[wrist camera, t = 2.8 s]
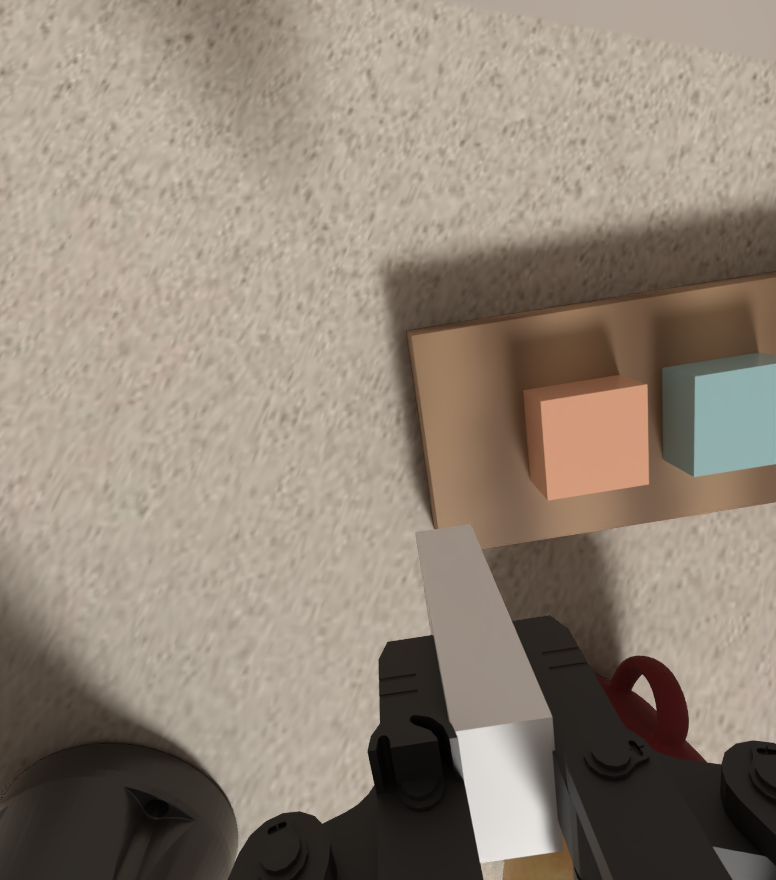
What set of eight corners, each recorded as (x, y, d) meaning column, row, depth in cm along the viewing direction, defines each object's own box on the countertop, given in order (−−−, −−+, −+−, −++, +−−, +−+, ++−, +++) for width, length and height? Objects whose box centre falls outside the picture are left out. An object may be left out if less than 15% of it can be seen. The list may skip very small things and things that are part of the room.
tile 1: (662, 459, 26) (693, 477, 23) (662, 367, 24) (694, 376, 22) (754, 444, 26) (795, 460, 23) (758, 352, 24) (801, 359, 22)
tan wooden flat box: (434, 529, 29) (442, 555, 26) (406, 330, 26) (411, 336, 23) (789, 472, 29) (835, 492, 26) (802, 266, 26) (856, 264, 23)
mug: (535, 606, 31) (612, 748, 21) (667, 611, 32) (800, 752, 22) (511, 749, 34) (569, 932, 24) (632, 752, 34) (736, 931, 25)
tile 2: (530, 480, 26) (547, 500, 23) (522, 390, 24) (540, 401, 22) (622, 465, 26) (649, 484, 23) (619, 374, 24) (647, 384, 22)
